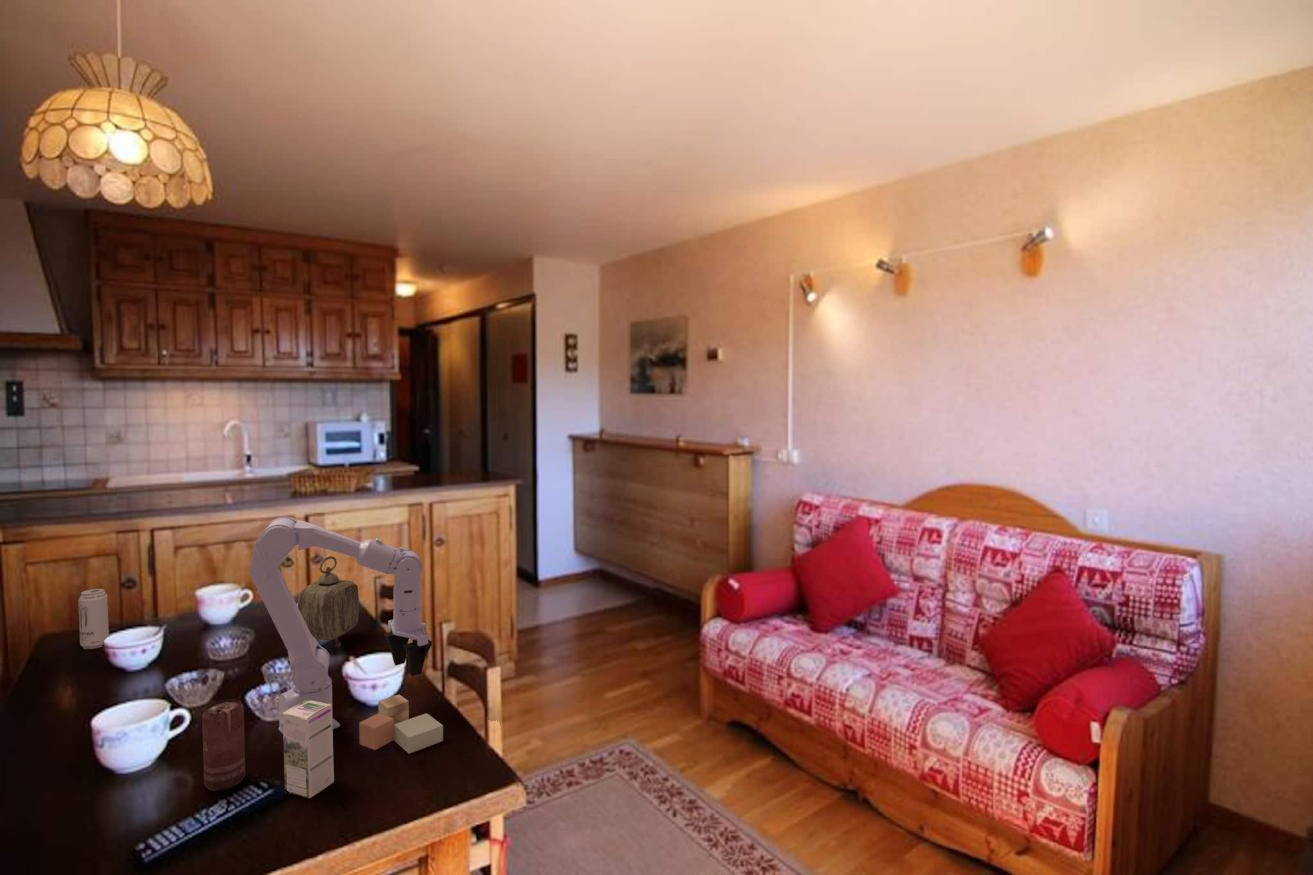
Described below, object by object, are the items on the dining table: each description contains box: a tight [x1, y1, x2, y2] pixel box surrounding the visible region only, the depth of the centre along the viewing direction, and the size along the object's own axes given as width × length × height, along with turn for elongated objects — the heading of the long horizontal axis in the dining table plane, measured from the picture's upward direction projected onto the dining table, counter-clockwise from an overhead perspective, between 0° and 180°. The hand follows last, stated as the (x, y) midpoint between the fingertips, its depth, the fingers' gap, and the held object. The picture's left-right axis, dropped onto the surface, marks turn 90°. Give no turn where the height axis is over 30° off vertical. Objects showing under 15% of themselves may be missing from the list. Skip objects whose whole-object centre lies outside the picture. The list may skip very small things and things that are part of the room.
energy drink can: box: [77, 588, 110, 650], centre depth 181 cm, size 6×6×15 cm
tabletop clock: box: [297, 555, 360, 649], centre depth 181 cm, size 14×9×25 cm, turn 172°
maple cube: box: [377, 694, 410, 724], centre depth 141 cm, size 4×4×4 cm
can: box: [201, 698, 246, 792], centre depth 118 cm, size 6×6×14 cm
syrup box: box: [282, 700, 335, 799], centre depth 117 cm, size 6×6×14 cm
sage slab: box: [393, 712, 444, 754], centre depth 134 cm, size 7×7×4 cm
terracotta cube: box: [358, 712, 394, 751], centre depth 133 cm, size 4×4×4 cm
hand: (407, 669), depth 145 cm, fingers open, 7 cm apart
